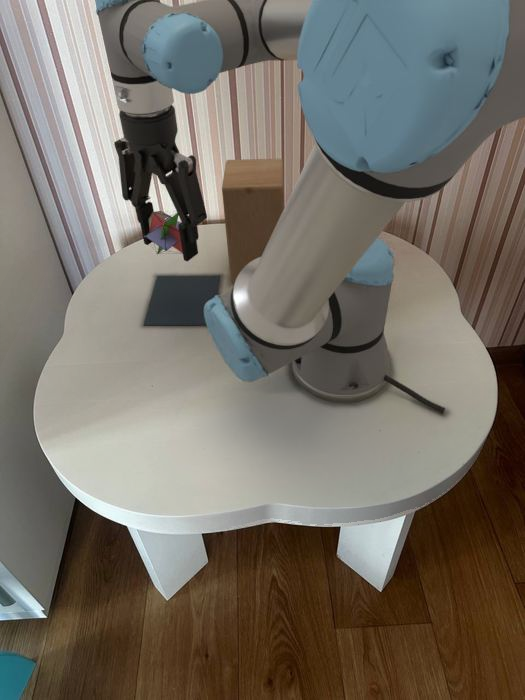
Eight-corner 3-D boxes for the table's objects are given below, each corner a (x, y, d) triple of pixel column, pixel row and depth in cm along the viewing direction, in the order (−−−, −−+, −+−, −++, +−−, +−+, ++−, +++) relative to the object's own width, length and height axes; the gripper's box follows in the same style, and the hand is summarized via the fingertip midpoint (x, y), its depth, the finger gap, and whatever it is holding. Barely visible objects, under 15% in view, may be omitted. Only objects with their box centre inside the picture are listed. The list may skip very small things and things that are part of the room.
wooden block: (284, 284, 105) (283, 185, 91) (230, 285, 105) (221, 187, 91) (284, 253, 112) (283, 157, 98) (233, 254, 112) (225, 158, 98)
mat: (212, 325, 97) (212, 324, 97) (143, 325, 98) (143, 324, 98) (219, 276, 107) (219, 275, 107) (157, 276, 108) (157, 275, 108)
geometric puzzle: (208, 236, 91) (178, 193, 88) (183, 258, 87) (151, 214, 84) (182, 249, 96) (154, 209, 93) (158, 270, 92) (127, 229, 89)
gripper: (73, 101, 78) (109, 240, 94) (187, 134, 70) (205, 281, 86) (112, 84, 83) (140, 219, 99) (224, 113, 74) (235, 257, 90)
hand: (170, 248), depth 92 cm, fingers closed on geometric puzzle, 8 cm apart
